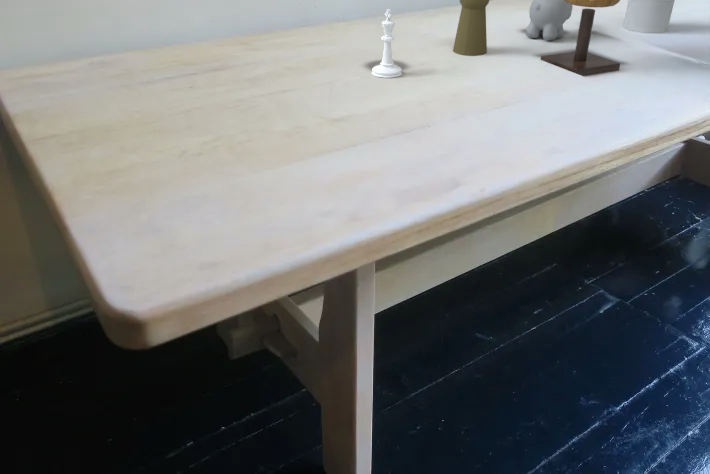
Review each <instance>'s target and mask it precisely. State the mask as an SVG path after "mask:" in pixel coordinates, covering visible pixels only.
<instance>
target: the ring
mask: <svg viewBox="0 0 710 474" xmlns="http://www.w3.org/2000/svg"><path fill="white" fill-rule="evenodd" d="M564 1H565V2H566V3H569V4H572V6H576V7H584V8H609V7H614V6H616V5H617V4H619V3H620V2H621V0H564Z"/></svg>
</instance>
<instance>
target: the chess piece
mask: <svg viewBox="0 0 710 474" xmlns="http://www.w3.org/2000/svg"><path fill="white" fill-rule="evenodd" d="M384 16H385V17H386V19H385V20H382V21H381V26H382V29H383V33H384V35H382V36H381V37H380V39H381V40H382V41H384V43H383V44H384V45H383V53H382V59H381V62H379V64H377V65H374V66H373V67H372V68H371V75H372V76H374V77H377V78H382V79H391V78H397V77H400V76H402V75H403V72H402V71H403V70H402V67H400V66H398V65H396V64H395V62H394V61H393V54H392V53H393V52H392V41H394V40H395V36H393V35H392V33H393V31H394V30H393V29H394V28H395V25H396V22H395V21H393V20H391V19H392V18H393V13H391V9H390V8H386V12H384Z"/></svg>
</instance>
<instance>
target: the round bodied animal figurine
mask: <svg viewBox="0 0 710 474" xmlns="http://www.w3.org/2000/svg"><path fill="white" fill-rule="evenodd" d="M573 6H574V5H572V4H569V3H566V2H565V1H564V0H532V2H531V4H530V7H529V11H528V13H529V19H530V22H529V24H528V26H527V27H526V30H525V36H526V37H527V38H531V39H538V38H539V37H542V38H543V39H544V40H546V41H551V40H555V39H560V38H562V37H563V36H564V24H565V23H566V21H568V20H569V19H570V18H571V16H572V12H573V9H574V8H573Z"/></svg>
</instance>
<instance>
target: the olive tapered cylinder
mask: <svg viewBox="0 0 710 474" xmlns="http://www.w3.org/2000/svg"><path fill="white" fill-rule="evenodd" d="M459 3H460V5H461V9H460V14H459V18H458V23H457V29H456V33H455V38H454V42H453V47H452V51H453V53H455V54H457V55H462V56H481V55H485V54H487V52H488V43H487V42H488V41H487V9H486V8H487V6H488V4H489V3H490V0H459Z"/></svg>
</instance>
